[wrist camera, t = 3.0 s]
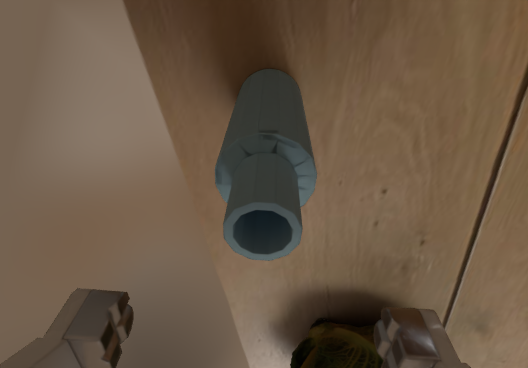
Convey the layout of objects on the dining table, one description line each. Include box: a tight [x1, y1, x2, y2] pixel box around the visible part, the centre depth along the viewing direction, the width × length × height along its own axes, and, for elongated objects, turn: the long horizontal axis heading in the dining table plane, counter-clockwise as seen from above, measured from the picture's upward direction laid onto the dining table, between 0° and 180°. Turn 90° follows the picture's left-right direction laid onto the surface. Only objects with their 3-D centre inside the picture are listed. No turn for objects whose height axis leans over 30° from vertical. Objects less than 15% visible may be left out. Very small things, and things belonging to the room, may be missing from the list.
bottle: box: [215, 69, 317, 261], centre depth 19 cm, size 5×5×16 cm
